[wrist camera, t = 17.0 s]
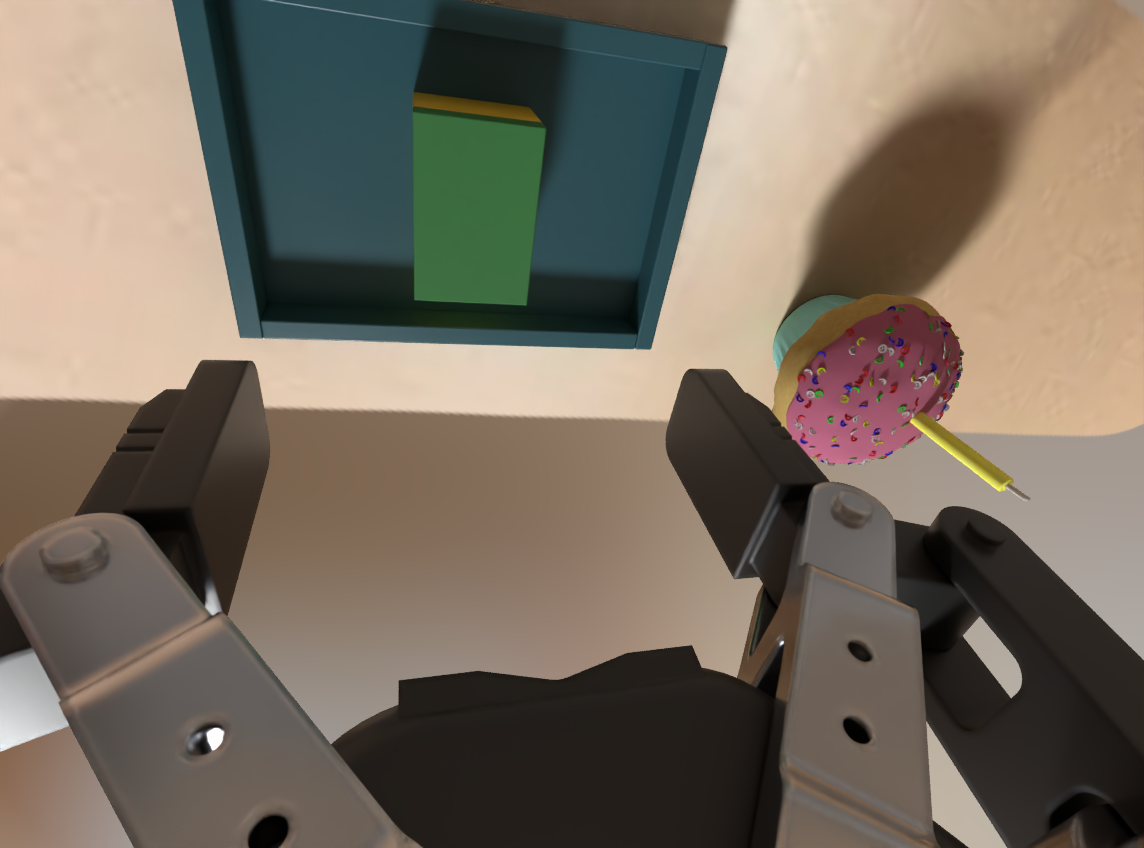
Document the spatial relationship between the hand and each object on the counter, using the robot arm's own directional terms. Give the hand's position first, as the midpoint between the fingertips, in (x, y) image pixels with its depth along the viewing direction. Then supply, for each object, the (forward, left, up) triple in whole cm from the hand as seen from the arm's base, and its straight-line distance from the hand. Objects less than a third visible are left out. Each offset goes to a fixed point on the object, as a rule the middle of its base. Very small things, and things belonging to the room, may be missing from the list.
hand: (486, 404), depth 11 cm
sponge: (+1, 0, -14) cm, 14 cm away
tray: (+1, 0, -14) cm, 14 cm away
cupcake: (+19, -6, -15) cm, 24 cm away
